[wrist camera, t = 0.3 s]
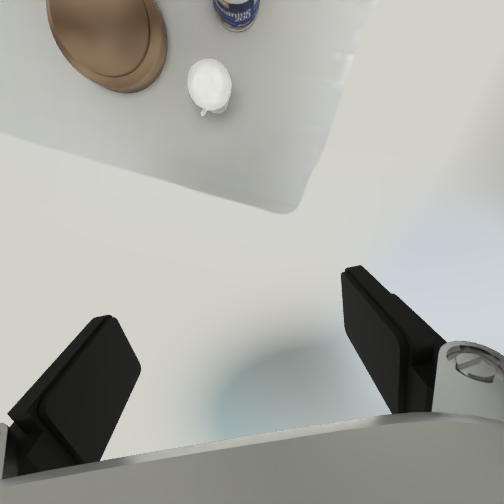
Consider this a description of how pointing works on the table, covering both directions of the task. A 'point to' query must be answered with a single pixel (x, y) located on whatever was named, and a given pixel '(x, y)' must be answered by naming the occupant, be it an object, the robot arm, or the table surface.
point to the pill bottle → (236, 13)
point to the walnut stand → (111, 40)
